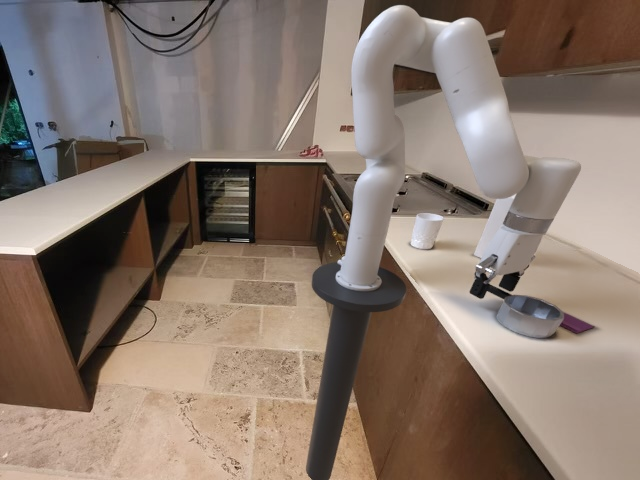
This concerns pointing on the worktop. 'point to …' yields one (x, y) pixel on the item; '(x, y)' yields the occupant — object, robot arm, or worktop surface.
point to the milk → (494, 223)
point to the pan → (527, 314)
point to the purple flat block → (574, 324)
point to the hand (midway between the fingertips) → (490, 292)
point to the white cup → (426, 230)
